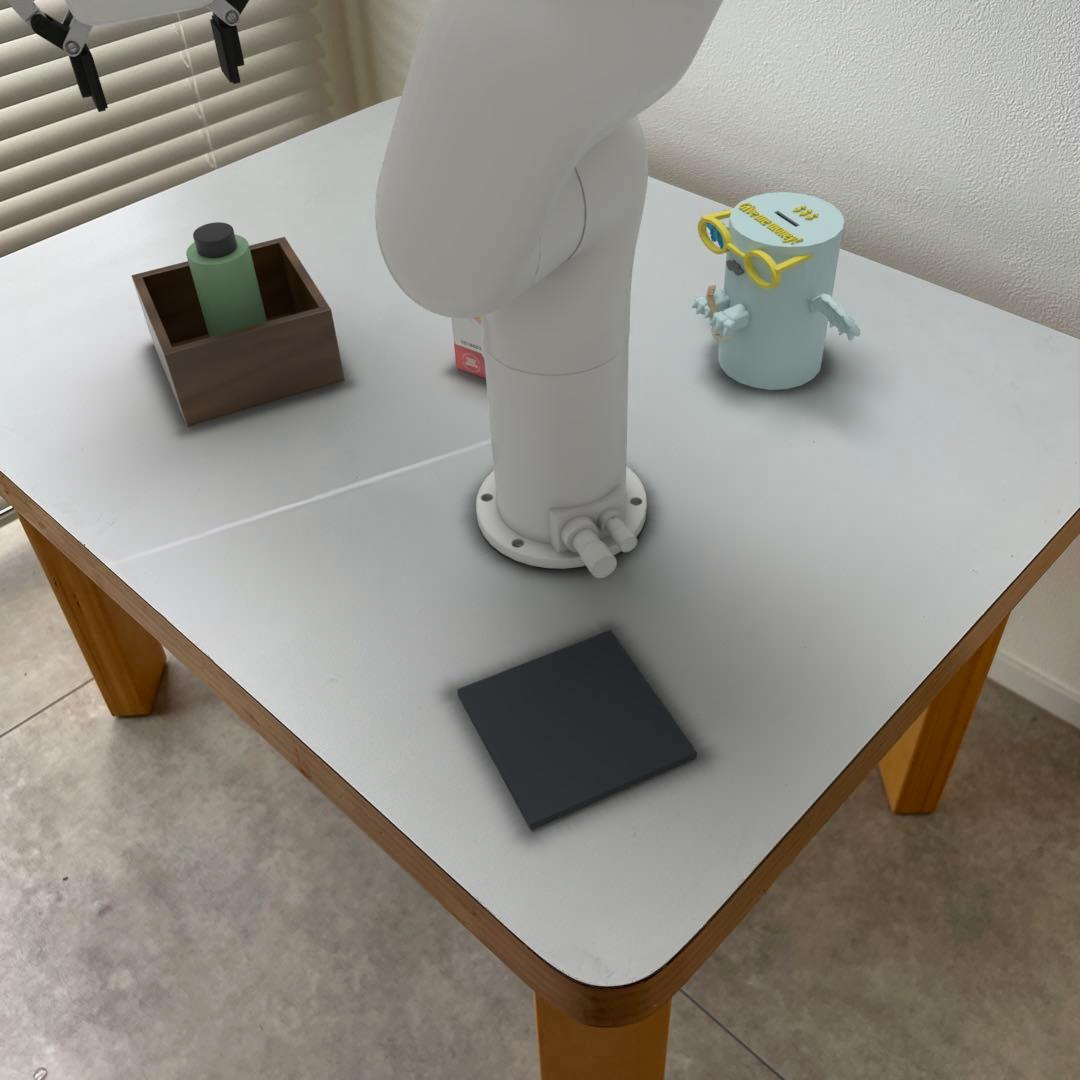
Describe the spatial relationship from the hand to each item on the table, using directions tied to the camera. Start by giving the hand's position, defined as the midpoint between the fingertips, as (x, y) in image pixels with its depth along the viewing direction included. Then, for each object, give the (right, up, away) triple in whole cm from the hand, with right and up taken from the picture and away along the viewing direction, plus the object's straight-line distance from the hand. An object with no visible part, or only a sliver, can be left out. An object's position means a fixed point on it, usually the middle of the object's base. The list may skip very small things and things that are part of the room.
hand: (166, 90), depth 83 cm
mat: (+29, -44, -13) cm, 55 cm away
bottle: (+2, -17, +16) cm, 24 cm away
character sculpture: (+46, -18, +14) cm, 51 cm away
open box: (+2, -17, +17) cm, 24 cm away
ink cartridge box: (+25, -19, +15) cm, 34 cm away
